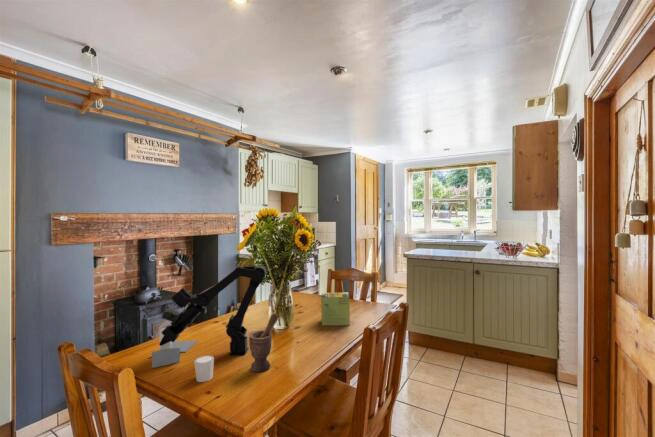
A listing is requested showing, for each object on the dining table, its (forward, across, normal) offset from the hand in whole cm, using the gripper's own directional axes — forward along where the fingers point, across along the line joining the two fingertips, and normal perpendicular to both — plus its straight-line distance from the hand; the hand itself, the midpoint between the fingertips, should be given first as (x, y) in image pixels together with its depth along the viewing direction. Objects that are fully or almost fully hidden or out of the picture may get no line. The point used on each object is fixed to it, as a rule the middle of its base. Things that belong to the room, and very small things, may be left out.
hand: (162, 342), depth 133 cm
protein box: (-52, -30, +61) cm, 85 cm away
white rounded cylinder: (+4, 0, +6) cm, 7 cm away
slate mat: (+2, -11, +7) cm, 13 cm away
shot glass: (-11, +21, +20) cm, 31 cm away
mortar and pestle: (-26, +16, +36) cm, 47 cm away
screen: (+2, +7, +7) cm, 10 cm away
